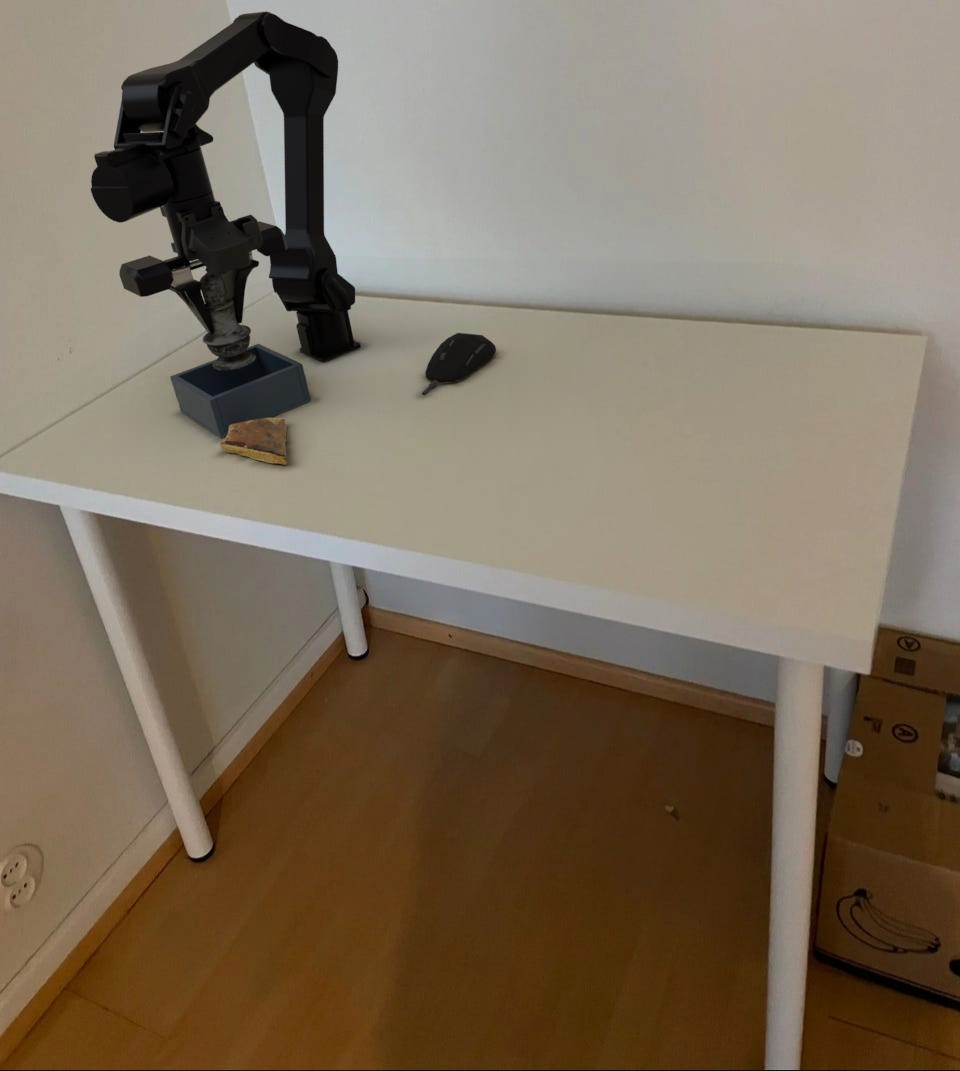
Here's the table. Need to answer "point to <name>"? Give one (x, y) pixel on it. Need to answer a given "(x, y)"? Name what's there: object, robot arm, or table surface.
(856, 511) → the table surface
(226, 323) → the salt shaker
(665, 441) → the table surface
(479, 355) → the gaming mouse
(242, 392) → the bin
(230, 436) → the shard
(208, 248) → the robot arm
